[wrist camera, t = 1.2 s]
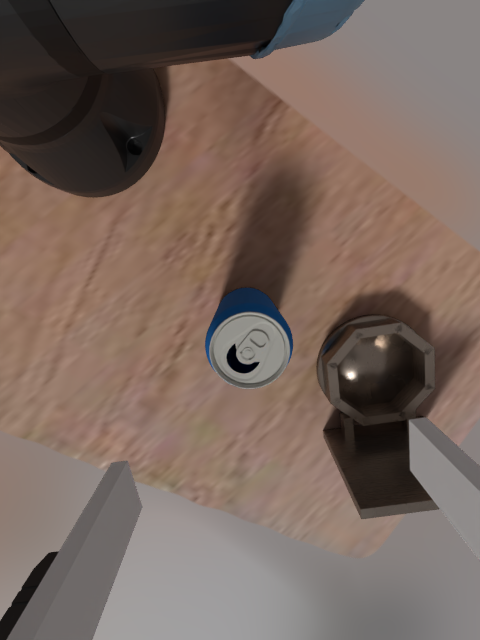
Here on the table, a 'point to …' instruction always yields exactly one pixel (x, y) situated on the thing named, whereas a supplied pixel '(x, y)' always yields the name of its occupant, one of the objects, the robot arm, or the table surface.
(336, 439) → the cup bracket
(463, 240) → the table surface
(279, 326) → the beverage can
